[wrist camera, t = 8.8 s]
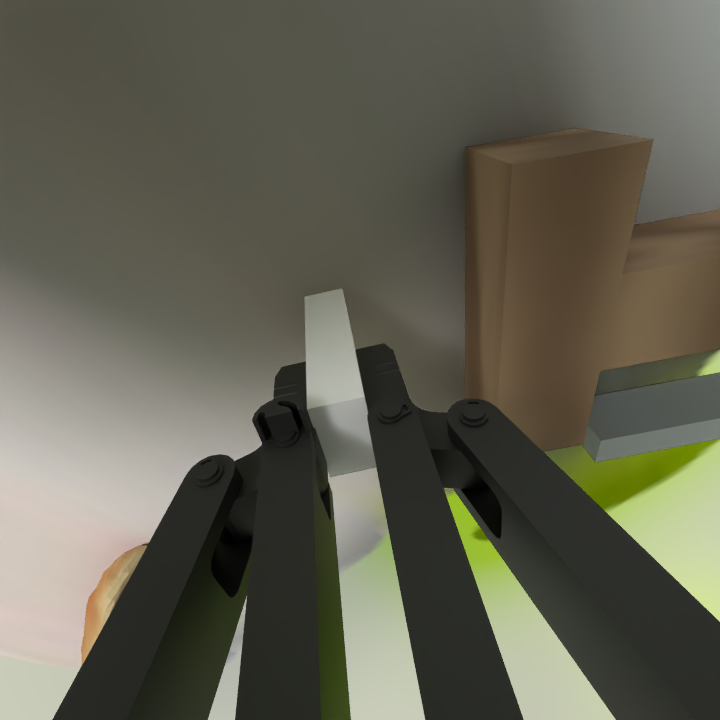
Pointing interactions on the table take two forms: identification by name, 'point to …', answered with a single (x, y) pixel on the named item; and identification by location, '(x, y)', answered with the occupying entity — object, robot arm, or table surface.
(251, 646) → the robot arm
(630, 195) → the t block
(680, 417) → the bracket
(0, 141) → the table surface
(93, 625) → the food
